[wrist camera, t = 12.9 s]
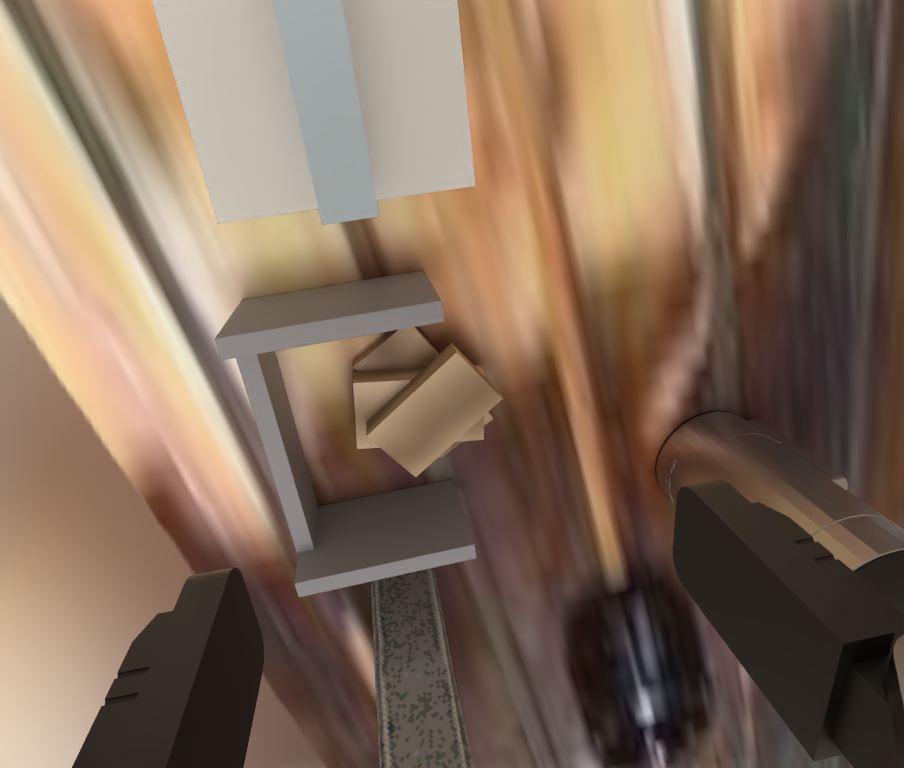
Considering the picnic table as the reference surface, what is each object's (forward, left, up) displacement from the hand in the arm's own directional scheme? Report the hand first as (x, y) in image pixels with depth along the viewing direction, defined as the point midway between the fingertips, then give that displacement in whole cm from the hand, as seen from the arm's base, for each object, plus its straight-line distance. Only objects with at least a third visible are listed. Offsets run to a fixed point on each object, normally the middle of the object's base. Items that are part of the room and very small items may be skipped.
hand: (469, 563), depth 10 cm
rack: (+3, +10, -29) cm, 31 cm away
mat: (+1, -11, -29) cm, 31 cm away
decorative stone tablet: (+3, +39, -29) cm, 49 cm away
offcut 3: (-2, +10, -26) cm, 27 cm away
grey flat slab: (+1, -11, -28) cm, 30 cm away
